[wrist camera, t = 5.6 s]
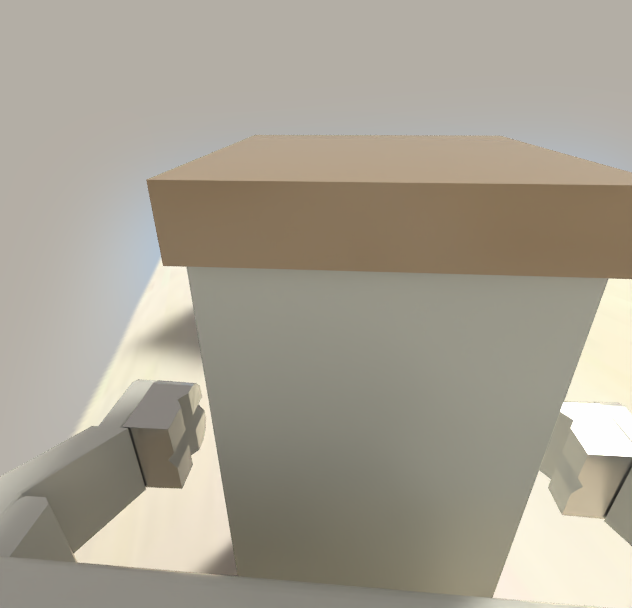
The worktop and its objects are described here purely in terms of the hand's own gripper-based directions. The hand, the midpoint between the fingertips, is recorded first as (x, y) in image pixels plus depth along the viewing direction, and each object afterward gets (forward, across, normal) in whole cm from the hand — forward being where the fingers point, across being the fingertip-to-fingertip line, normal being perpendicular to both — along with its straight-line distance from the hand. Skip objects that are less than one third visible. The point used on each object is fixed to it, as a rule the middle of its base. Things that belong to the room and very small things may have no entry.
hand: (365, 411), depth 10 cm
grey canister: (0, 0, +6) cm, 6 cm away
